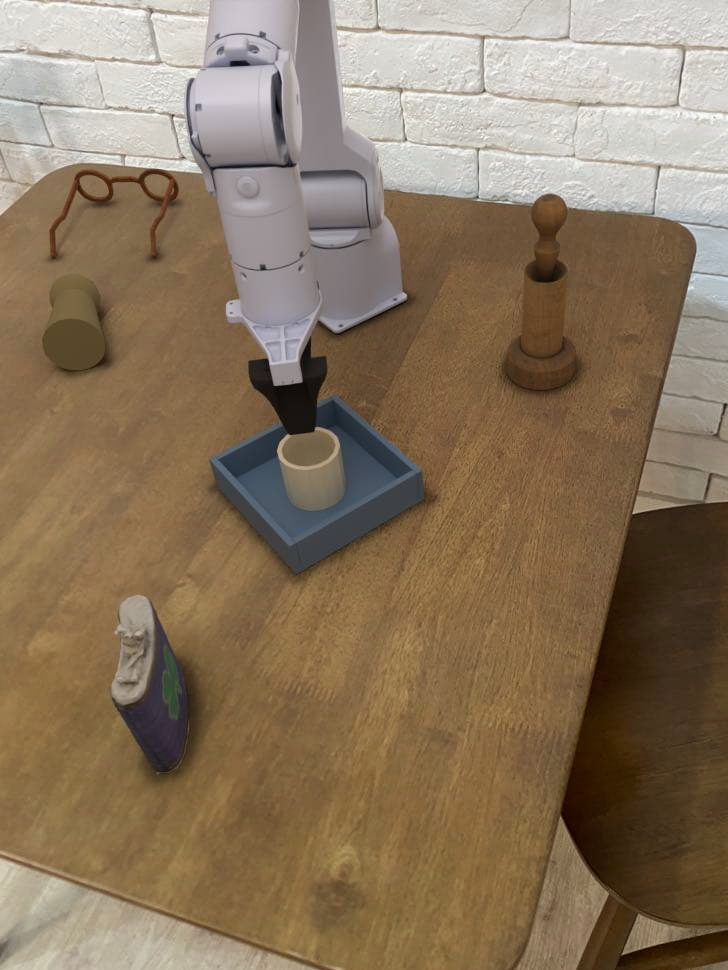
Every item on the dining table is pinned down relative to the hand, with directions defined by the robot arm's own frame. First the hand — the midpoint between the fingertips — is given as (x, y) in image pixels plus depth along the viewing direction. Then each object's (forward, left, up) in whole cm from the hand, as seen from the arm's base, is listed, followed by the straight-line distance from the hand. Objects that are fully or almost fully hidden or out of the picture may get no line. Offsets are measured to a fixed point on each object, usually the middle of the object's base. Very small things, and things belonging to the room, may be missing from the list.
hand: (299, 399), depth 75 cm
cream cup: (0, +1, -10) cm, 10 cm away
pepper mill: (+9, -30, -7) cm, 32 cm away
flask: (+21, +13, -10) cm, 27 cm away
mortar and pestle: (-26, +1, -10) cm, 28 cm away
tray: (0, +1, -10) cm, 10 cm away
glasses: (-6, -53, -10) cm, 55 cm away
